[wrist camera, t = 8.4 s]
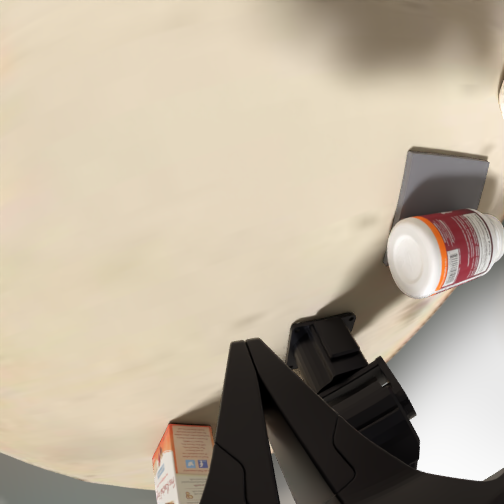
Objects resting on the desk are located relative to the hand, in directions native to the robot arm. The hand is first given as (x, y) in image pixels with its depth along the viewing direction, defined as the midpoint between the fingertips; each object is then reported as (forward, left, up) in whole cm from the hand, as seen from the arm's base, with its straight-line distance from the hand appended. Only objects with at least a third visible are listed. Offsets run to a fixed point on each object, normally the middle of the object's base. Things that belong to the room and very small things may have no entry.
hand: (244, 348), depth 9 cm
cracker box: (-35, +7, -12) cm, 38 cm away
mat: (-2, -20, -12) cm, 24 cm away
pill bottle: (-5, -14, -8) cm, 17 cm away
